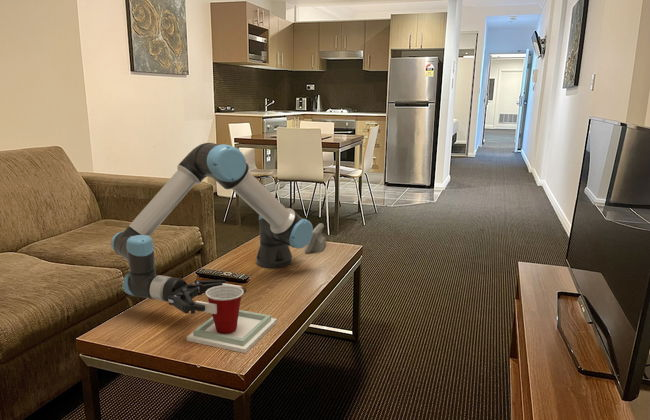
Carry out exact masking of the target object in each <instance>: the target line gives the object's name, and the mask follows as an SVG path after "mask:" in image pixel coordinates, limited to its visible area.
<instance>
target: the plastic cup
mask: <svg viewBox="0 0 650 420" xmlns="http://www.w3.org/2000/svg"><path fill="white" fill-rule="evenodd" d="M243 293H244V291H243V289H241V288H240V287H236V286H230V285H222V286H216V287H212V288H210V289H208V290H207V291H206V293H205V296H206V297H207V298H206V299H207V302H208V303H213V304H217V314H212V313H211V317H212V316H213V320H214V323H215V327H216V330H217V332H218V333H221V334H227V333H231V332H234V331H235V330H236V328H237V322H238V316H239V310H240V308H241V307H240V306H241V301H242V297H243V295H244V294H245V293H244V294H243Z"/></svg>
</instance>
